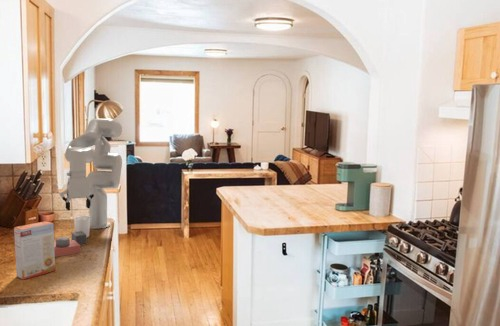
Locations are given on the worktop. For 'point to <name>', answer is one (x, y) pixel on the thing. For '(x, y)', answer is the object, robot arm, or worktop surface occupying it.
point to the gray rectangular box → (79, 237)
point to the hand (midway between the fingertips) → (78, 208)
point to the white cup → (82, 224)
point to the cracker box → (34, 249)
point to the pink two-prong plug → (66, 247)
